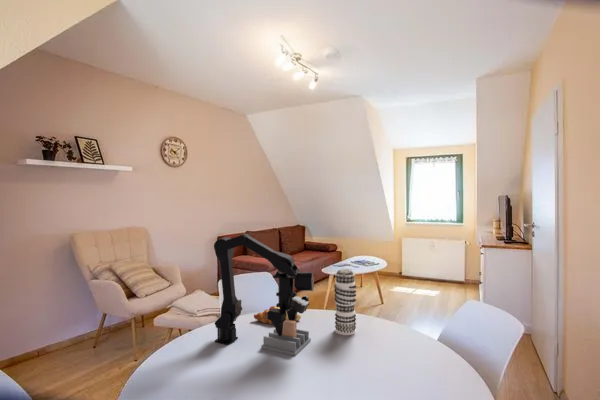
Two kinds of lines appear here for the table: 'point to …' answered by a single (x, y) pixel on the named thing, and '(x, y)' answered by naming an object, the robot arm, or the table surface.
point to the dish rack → (286, 342)
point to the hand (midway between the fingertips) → (286, 331)
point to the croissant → (263, 318)
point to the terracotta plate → (289, 328)
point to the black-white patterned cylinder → (345, 302)
